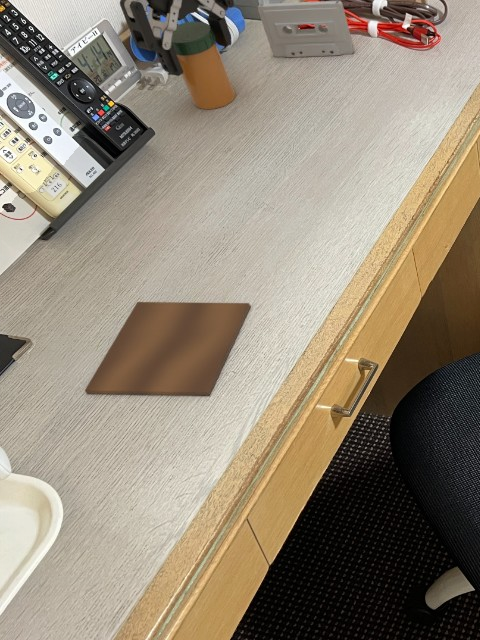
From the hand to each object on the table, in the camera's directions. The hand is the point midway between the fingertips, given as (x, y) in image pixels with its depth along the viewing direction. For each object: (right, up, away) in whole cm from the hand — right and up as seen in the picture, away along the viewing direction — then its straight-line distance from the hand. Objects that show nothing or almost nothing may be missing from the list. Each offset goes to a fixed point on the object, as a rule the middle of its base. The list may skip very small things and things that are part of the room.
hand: (200, 58), depth 108 cm
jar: (-1, -4, +6) cm, 7 cm away
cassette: (+10, +5, +14) cm, 18 cm away
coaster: (+10, -38, -26) cm, 47 cm away
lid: (-1, +3, -1) cm, 3 cm away
